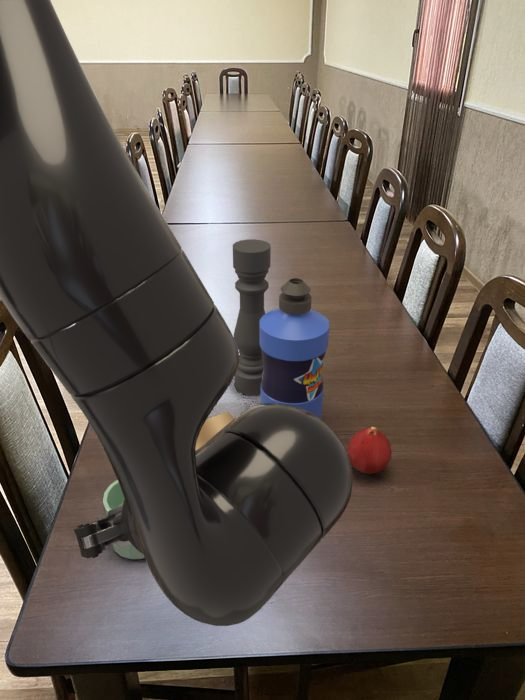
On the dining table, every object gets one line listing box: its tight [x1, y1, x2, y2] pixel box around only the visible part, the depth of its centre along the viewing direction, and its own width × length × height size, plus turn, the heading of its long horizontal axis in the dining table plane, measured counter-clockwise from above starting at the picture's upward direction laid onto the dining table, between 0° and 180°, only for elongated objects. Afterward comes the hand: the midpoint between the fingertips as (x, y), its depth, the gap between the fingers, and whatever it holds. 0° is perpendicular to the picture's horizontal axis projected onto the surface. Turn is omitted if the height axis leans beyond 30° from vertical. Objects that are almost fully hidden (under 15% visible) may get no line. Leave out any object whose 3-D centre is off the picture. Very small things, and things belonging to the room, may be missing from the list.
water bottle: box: [260, 277, 331, 420], centre depth 75 cm, size 9×9×25 cm
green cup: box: [102, 479, 145, 560], centre depth 62 cm, size 6×6×8 cm
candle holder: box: [232, 238, 272, 397], centre depth 86 cm, size 6×6×25 cm
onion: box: [347, 426, 392, 475], centre depth 72 cm, size 6×6×8 cm
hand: (146, 513), depth 55 cm, fingers open, 8 cm apart
